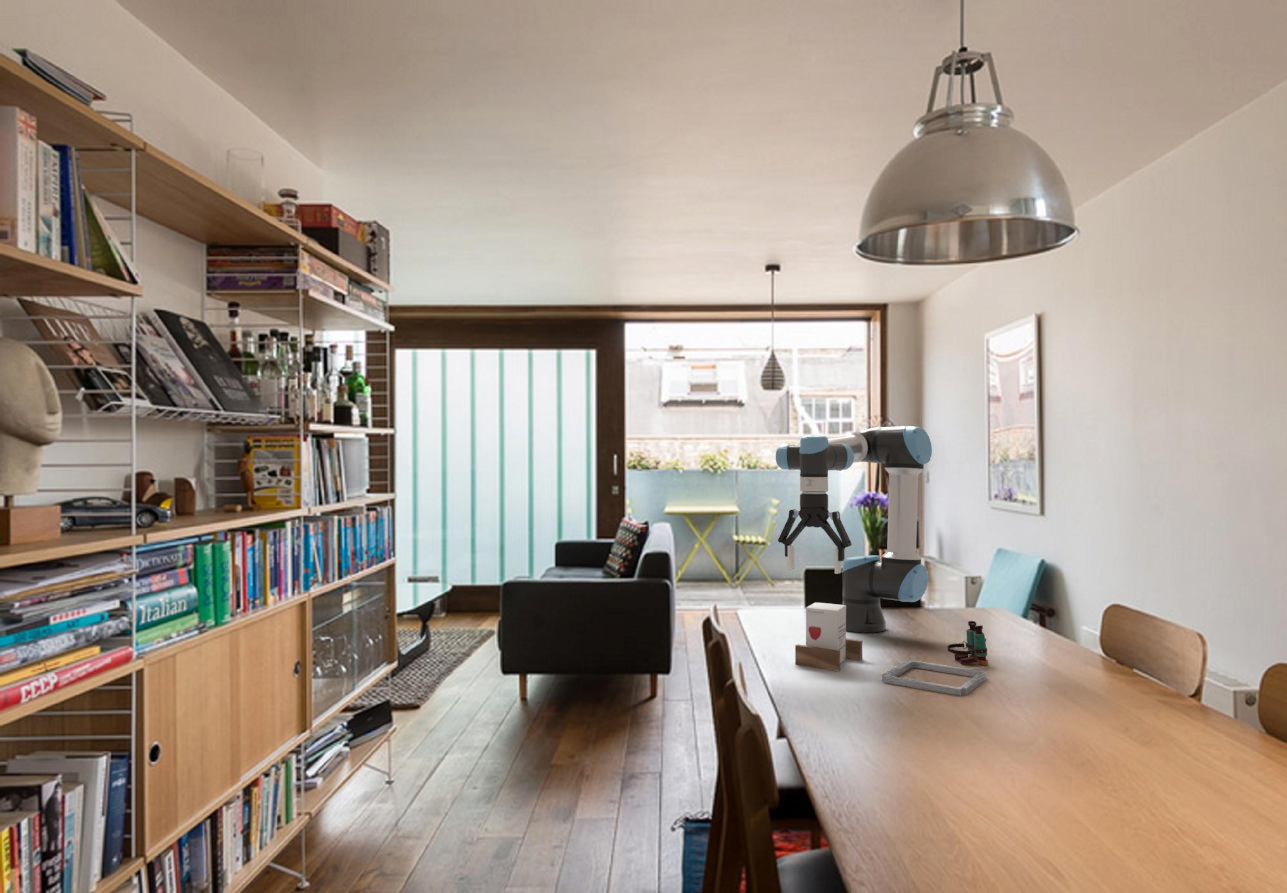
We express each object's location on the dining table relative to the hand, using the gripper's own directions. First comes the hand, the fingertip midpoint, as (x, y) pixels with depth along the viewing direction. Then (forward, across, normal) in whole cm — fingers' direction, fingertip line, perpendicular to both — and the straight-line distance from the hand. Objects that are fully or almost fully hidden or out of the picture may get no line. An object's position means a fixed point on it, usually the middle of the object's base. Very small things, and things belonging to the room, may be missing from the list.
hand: (814, 571), depth 225 cm
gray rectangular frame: (+24, +32, 0) cm, 40 cm away
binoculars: (+24, +34, +23) cm, 48 cm away
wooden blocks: (+24, +4, +2) cm, 25 cm away
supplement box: (+24, +3, +2) cm, 25 cm away
